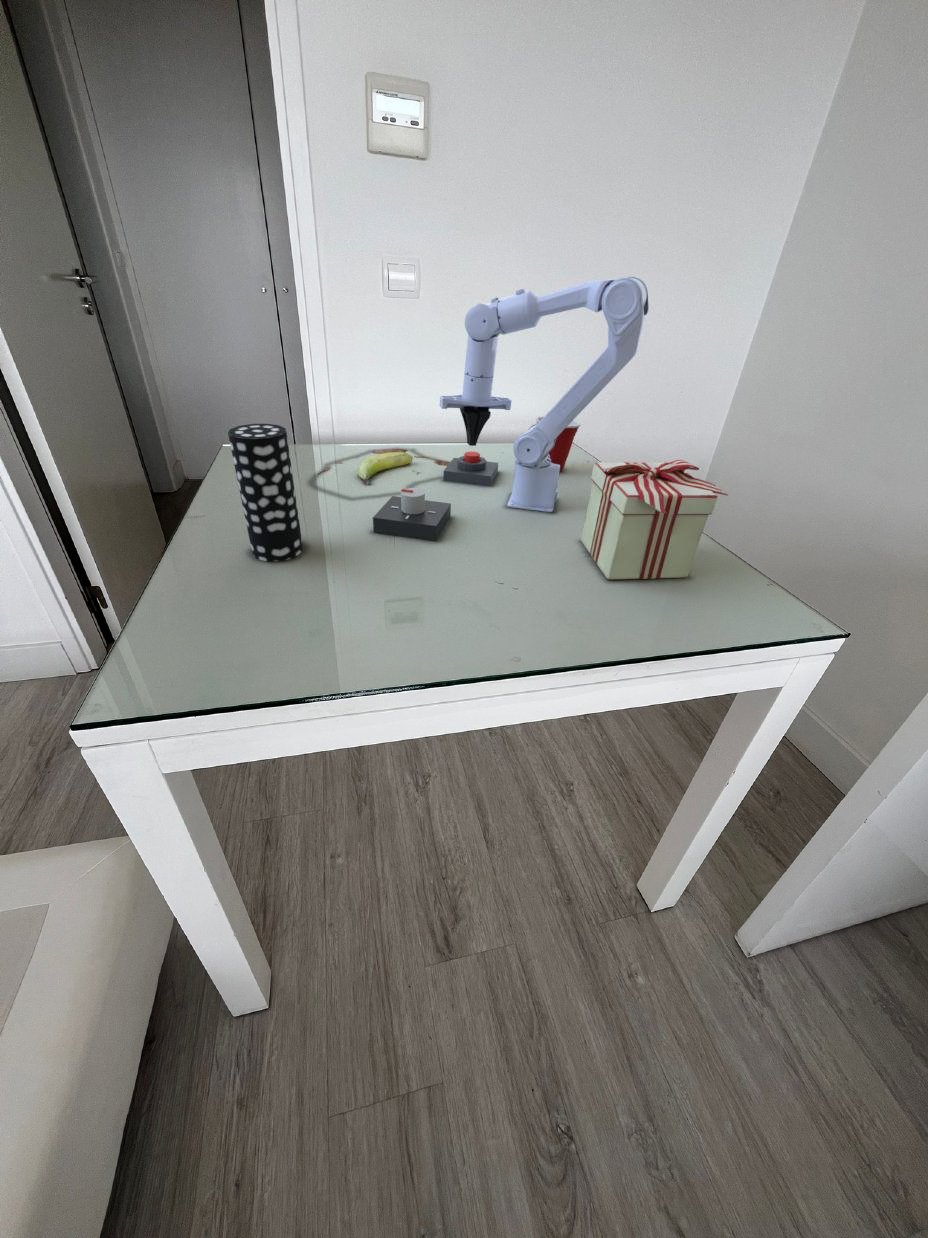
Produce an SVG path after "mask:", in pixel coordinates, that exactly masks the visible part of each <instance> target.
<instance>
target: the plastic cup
mask: <svg viewBox="0 0 928 1238" xmlns="http://www.w3.org/2000/svg"><path fill="white" fill-rule="evenodd" d="M543 418H544V416H537V417H535V421H536V423H539V422H540V421H541V420H542V419H543ZM581 425H582V423H581V422H580V421H578V420H575V419H574V420H573V421H572V422H571V423H570V424H569V425H568V426H567V427H566V428H565V429H564V430H563V431H562V432H561V433H560V434H559V436H558V437H557V439H556V441H555V445H554V447H553V448H552V449H551V450H550V451H549V455H550V459H551V463H553V464H558V465H560V471H559V473H562V472H563V471H564V469H565V466H566V463H567V459H568V458H569V454H570V451H571V448H572V446H573V443H574V439H575V437H576V434H577V432H578V430H579V428H580V427H581Z"/></svg>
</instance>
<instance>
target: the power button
mask: <svg viewBox="0 0 928 1238" xmlns="http://www.w3.org/2000/svg"><path fill="white" fill-rule="evenodd" d="M463 456H464V461H465V462H469V463H478V462H480V457H481V454H480V452H477V451H466V452H464V455H463Z"/></svg>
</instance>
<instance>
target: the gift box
mask: <svg viewBox="0 0 928 1238" xmlns="http://www.w3.org/2000/svg"><path fill="white" fill-rule="evenodd" d="M686 470H691V471H699V470H700V468H699V467H698V466H696V465H695V464H692V463H690V462H688V461H686V460H684V459H676V460H673V461H669V462H665V461H664V462H643V461H642V462H639V461H638V462H637V461H636V462H630V461H628V462H625V461H623V462H609V461H607V462H606V461H605V462H601V461H600V462H598V461H597V462H594V463H593V468H592V473H591V478H590V480H591V481H592V484H591V490H590V494H589V499H588V504H587V509H586V512H585V513H586V514H585V518H584V524H583V530H582V533H581V538H580V541H581V543H582V544H583V546H584V547H585V549H586V550H587V552H588V553H589V554H590V556H591V558H592V559H593V561H594V563H595V564H596V565H597V567H598V568H599V569H600V571H601V572H602V573H603V575H604V576H605V578H606V579H607V580H614V581H617V580H655V579H656V580H657V579H683V578H684V579H685V578H688V576H689V573H690V570H691V568H692V566H693V565H692V564H693V561H694V558H695V556H696V553H697V551H698V547H699V544H700V542H701V538H702V535H703V532H704V529H705V526H706V523H707V522H708V521H707V520H708V518H709V516H710V515H713V512H714V509H715V506H716V504H717V500H718V495H717V494H719V495H722V496H723V495H724V496H729V494H728V493H726V492H724V491H723V490H721V488H719V487H718V486H717V485H716V484H715V483H711V482H710V481H706V480H703V479H700V478H696V477H694V476H693V475H691V474H689V473H688V472H687V471H686Z"/></svg>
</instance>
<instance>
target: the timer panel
mask: <svg viewBox="0 0 928 1238" xmlns="http://www.w3.org/2000/svg"><path fill="white" fill-rule="evenodd" d="M451 512H452V503H450V502H442V501H435V500H426V499H425V511H424V512H423V513H420V514H406V513H404V512H402V510H401V496H395V495H391V497H390V498H389V499H388V500H387V502H385V504H383V505H382V507H381V508H380V509H379V510H378V511H377V512H376V514H374V516H372V526H373V527H372V528H373V533H375V534H383V535H388V536H396V537H404V538H410V539H411V538H412V539H417V540H426V541H431V542H432V541H433V542H437V540H438V539H439V537H440V536H441V534H442V532H443V531H444V529H445V528H446V526H447V524H448V522H450V519H451V517H452V516H451V514H452V513H451Z"/></svg>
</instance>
